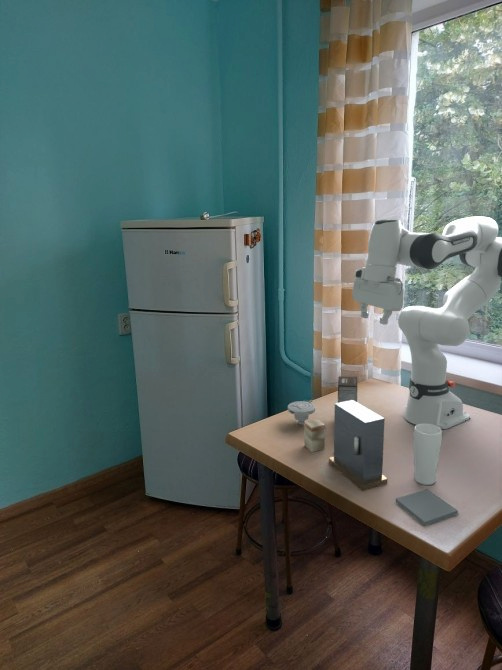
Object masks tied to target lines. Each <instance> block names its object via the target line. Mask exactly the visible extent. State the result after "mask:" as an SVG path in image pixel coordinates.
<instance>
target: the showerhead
mask: <svg viewBox="0 0 502 670" xmlns="http://www.w3.org/2000/svg"><path fill="white" fill-rule="evenodd" d="M312 402H313V400H312V399H310V400H309V401H306V400H305V401H303V400H302V401H301V400H299V401H292V402H291V403H289V404H288V405H287V411H288V413H290V414H292V415H294V416H293V417H294V419H295V420H297V422H298V425H303V426H304V422H306V421H308V420H309V417H310V415H312V414H314V413H315V412H316V405H315V404H314V403H312Z"/></svg>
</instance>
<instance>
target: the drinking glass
mask: <svg viewBox="0 0 502 670" xmlns="http://www.w3.org/2000/svg"><path fill="white" fill-rule="evenodd" d="M442 430H443V429H440V428H439V427H438V426H435V425H432V424H418V425H416V424H415V426H414V430H413V463H414V466H413V467H414V473H413V474H414V475H413V477H414V481H416V482H417V483H418V484H420V485H423V486H430V485H433V484H434V483H435V482H436V479H437V478H436V477H437V470H438V464H439V458H440V454H441V447H442V435H443V434H442V433H443V431H442Z"/></svg>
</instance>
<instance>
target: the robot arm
mask: <svg viewBox="0 0 502 670" xmlns="http://www.w3.org/2000/svg"><path fill="white" fill-rule="evenodd" d="M498 235H499V226H498V223H497V222H496V220H494V219H493V218H491V217H487V216H469V217H464V218H459V219H456V220H453V221H451V222H450V223H448V224H446V226H445V227H444V229H443V231H442V234H441V233H438V232H411V231H409V230H408V229H406V228H405V227H404V226H403V225H402V222H401V220H400V219H398V218H383V219H378V220H376V221H374V223H373V225H372V227H371V230H370V233H369V237H368V245H367V254H368V255H367V259H366V261H365V267H361V268H360V269H356V270H355V271H354V278H355V279H354V282H353V287H352V300H353V301H355V302H357V303H359V309H360V317H361V318H362V319H369V313H370V312H368V307H369V306H372V307H376V308H380V309H382V310H383V311H382V312H383V315H382V317H379V324H380V325H388V323H389V318H390V317H391V316H392V315H393V312H400V313H399V315H398V320H397V324H398V328H399V329H400V331H401V332H402V333H403V335H404V336H405V338H406V341H407V343H408V347H409V351H410V356H411V374H410V377H409V382H408V383H409V384H408V390H409V393H408V398H407V403H406V407H405V411H404V414H403V418H404V420H406V421H407V422H409V423H411V424H413V425H415V426H416V425H418V424H432V425H435V426H438V427H439V428H440V429H441V430H447V429H449V428H452V427H454V426H456V425H457V426H458V425H459V424H461V423H463V422H465V420H466V421H468V420H470V419H471V415H470V414H469V413H468V412H467V411H466V410H464V403H463V401H462V399H460V398H459V396H457V395H456V394H454V393H453V392H451V391H450V388H453V389H454V388H455V387H456V383H455V381H452V380H447V368H448V359H447V357H446V356H445V354H444V353H443V352H442V351H441V348H440V347H439V345H441V346H446V347H447V346H448V347H458V346H460V345H462V344H463V343H464V342H466V341H467V339H468V336H469V334H470V324H469V322H468V320H469V319H470V318H471V316H473V315H474V314H475V313H476V312H477V311H478V310H479V309H481V308H482V307H483V306H485V304H487V303H488V302H490V300H491V299H492V298H493V297H494V296H495V295H496V293H497V292H498V291H499V290H500V288H501V285H502V284H501V283H502V280H501V279H502V237H498ZM456 256H458V258H459V260H460V262H461V263H462V264H464V265H466V266H468V267H471V268H473V267H474V268H475V269H474V270H473V271H472V272H471V273H470V274H469V275H467V276H465V277H464V278H463V279H462V280H459V282H457V283H456V284H455V285H454V286H453V287H451V288H450V289H449V290H447V291H446V292H445V293H444V295H443V298H442V304H443V306H441V307H438V308H434V307H430V306H424V305H410V306H406V307H403V306H404V298H405V297H404V291H405V290H404V284H403V282H402V280H401V278H400V277H396V273H397V267H398V265H403V266H409V267H418V268H422V269H426V270H434V269H437V268H438V267H439V266H441V265H442V264H443V263H444V262H445V261H447V260H449V259H451V258H453V257H456ZM449 387H450V388H449ZM469 418H470V419H469Z"/></svg>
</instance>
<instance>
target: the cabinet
mask: <svg viewBox="0 0 502 670" xmlns="http://www.w3.org/2000/svg"><path fill="white" fill-rule="evenodd" d="M385 422H386V421H385V417H383V416H381V415H380V414H378V413H377V412H374V411H373V410H371V409H369V408H368V407H366V406H364V405H362V404H361V403H359V402H358V401H357V402H356V401H354V400H350V401H345V402H340V403H338V402H336V403H334V422H333V423H334V425H333V426H334V428H333V431H334V435H333V437H334V438H333V439H334V440H333V456H330V457H329V458H328V463H329V464H330V465H331V466H332V467H334V468H335V470H337V471H338V472H339V473H341V475H343V476H344V477H345V478H346V479H348V480H349V481H350V482H351V483H352V484H354V486H356V487H357V488H358V489H359V490H360V491H362V492H364V491H367V490H370V489H373V488H378V487H380V486H384V485H388V478H387V477H386V476H385V475H383V465H384V463H383V461H384V440H385Z"/></svg>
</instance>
